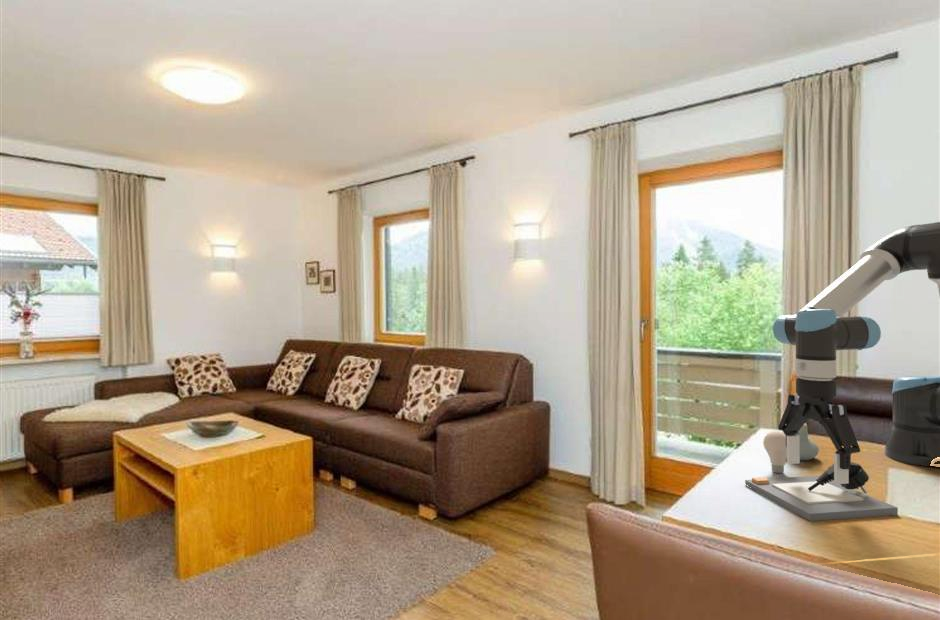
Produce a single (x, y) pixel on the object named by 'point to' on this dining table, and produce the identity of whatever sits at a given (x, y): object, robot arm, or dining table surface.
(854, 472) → the power plug
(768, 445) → the light bulb
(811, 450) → the air freshener
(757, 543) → the dining table surface
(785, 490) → the socket board
